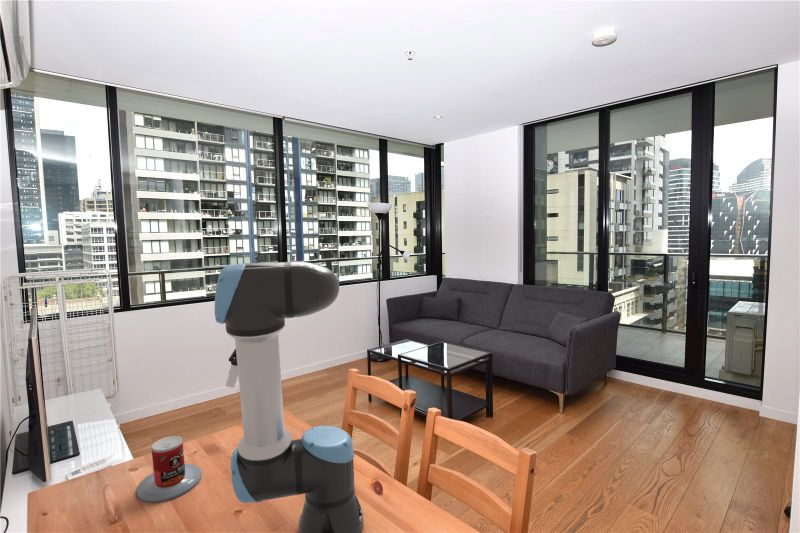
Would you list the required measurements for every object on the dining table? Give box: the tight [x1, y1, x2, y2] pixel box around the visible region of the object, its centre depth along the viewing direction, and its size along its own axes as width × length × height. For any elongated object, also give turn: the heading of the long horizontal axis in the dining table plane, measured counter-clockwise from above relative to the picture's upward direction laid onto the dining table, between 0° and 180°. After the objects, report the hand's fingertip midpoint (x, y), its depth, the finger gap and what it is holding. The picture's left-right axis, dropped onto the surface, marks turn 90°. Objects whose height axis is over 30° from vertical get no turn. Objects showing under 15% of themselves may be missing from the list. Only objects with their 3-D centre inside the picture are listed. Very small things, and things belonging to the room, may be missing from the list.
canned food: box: [151, 435, 186, 488], centre depth 117 cm, size 8×8×11 cm
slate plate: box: [136, 463, 202, 503], centre depth 118 cm, size 16×16×1 cm
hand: (241, 391), depth 125 cm, fingers open, 13 cm apart
